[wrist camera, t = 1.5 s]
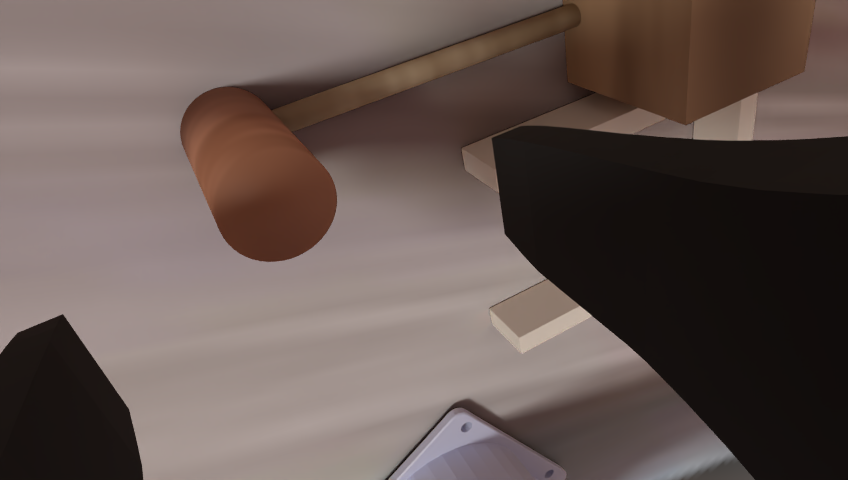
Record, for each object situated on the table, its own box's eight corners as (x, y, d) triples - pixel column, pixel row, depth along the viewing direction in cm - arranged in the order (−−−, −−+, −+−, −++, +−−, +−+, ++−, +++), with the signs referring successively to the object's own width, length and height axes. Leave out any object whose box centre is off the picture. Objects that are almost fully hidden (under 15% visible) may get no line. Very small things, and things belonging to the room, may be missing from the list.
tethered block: (676, -104, 19) (832, -105, 15) (671, 40, 22) (804, 71, 18) (145, 64, 14) (170, 123, 11) (217, 221, 17) (259, 318, 13)
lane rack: (755, -508, 15) (834, -555, 13) (702, 216, 27) (741, 236, 25) (352, -476, 12) (393, -534, 10) (492, 324, 24) (521, 353, 22)
